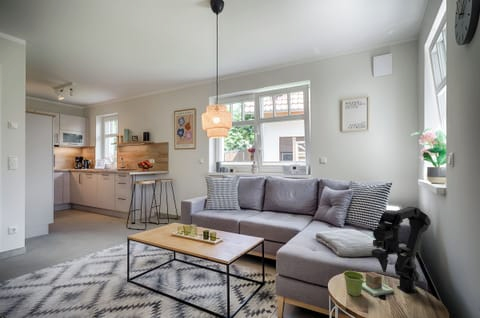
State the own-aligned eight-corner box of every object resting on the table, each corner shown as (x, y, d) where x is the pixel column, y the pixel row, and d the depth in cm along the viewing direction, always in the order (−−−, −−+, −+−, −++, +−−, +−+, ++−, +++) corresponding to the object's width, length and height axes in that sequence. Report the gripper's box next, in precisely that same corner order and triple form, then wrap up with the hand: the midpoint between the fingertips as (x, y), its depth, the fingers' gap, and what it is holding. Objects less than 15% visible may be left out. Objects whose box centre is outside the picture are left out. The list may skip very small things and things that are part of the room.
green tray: (373, 280, 130) (373, 278, 130) (393, 292, 118) (393, 289, 118) (354, 284, 126) (354, 281, 126) (373, 296, 115) (373, 293, 115)
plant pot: (367, 299, 112) (367, 280, 112) (345, 297, 114) (345, 278, 114) (361, 289, 121) (361, 271, 121) (341, 287, 123) (341, 270, 123)
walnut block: (373, 283, 125) (373, 271, 126) (381, 288, 121) (381, 276, 121) (365, 284, 124) (365, 273, 124) (373, 289, 119) (373, 277, 119)
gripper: (393, 231, 125) (394, 262, 125) (362, 234, 121) (363, 265, 121) (414, 238, 114) (414, 271, 114) (380, 241, 110) (381, 276, 110)
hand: (392, 270), depth 115 cm, fingers open, 9 cm apart
